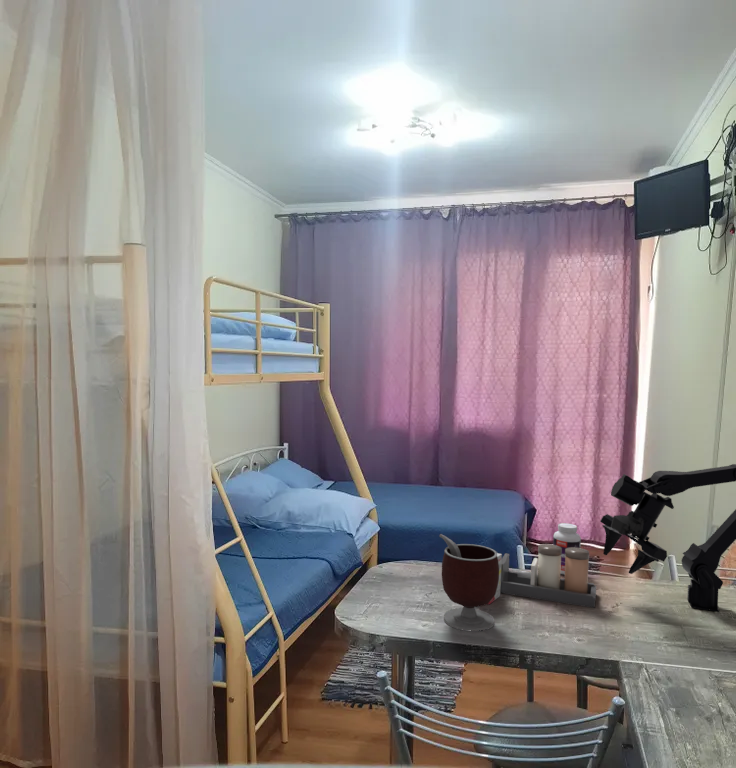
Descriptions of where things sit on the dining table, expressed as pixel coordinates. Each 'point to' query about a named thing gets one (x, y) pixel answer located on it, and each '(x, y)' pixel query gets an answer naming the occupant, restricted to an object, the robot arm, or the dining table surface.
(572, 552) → the terracotta jar
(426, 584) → the dining table surface
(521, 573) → the pusher
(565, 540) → the pill bottle
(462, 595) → the mate gourd
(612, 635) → the dining table surface
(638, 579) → the dining table surface
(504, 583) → the grey jar rack
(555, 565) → the cream jar
